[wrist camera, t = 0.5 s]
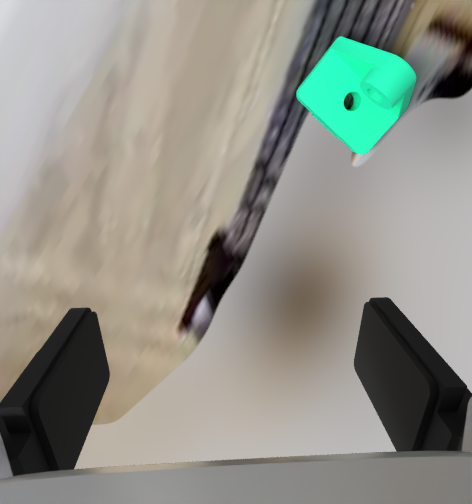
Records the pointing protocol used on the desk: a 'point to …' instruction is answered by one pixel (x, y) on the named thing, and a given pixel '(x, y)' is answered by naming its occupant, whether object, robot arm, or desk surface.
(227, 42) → the desk surface
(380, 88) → the camera mount
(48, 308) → the desk surface
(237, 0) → the desk surface
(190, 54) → the desk surface
